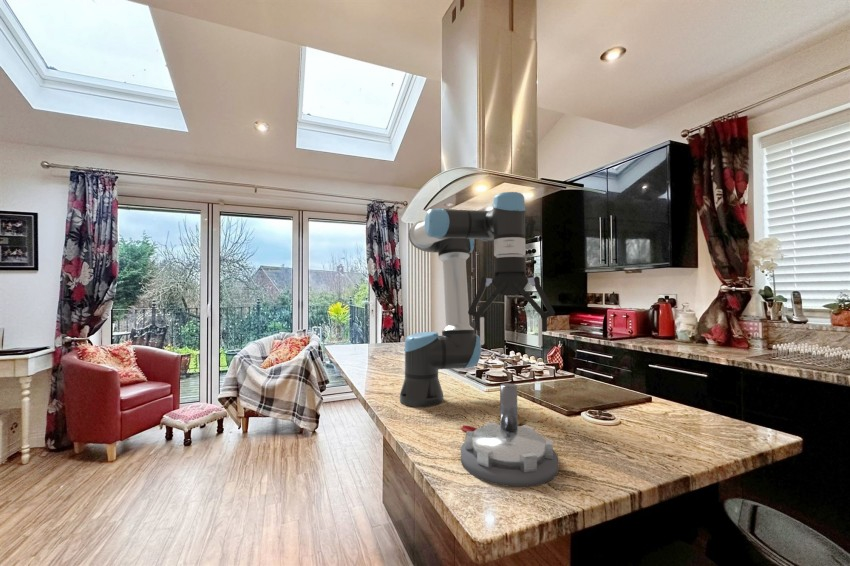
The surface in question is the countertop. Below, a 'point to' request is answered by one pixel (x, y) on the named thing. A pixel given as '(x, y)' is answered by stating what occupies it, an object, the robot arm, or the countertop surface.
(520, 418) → the shard
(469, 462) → the base plate
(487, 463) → the tabbed dome lid
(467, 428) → the cayenne pepper
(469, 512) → the countertop surface
